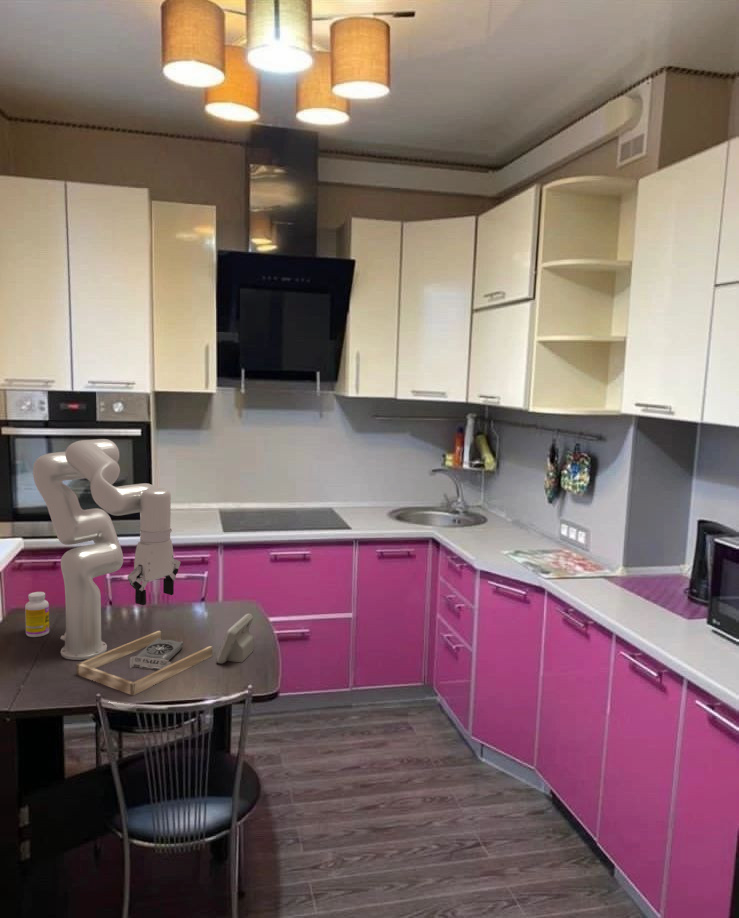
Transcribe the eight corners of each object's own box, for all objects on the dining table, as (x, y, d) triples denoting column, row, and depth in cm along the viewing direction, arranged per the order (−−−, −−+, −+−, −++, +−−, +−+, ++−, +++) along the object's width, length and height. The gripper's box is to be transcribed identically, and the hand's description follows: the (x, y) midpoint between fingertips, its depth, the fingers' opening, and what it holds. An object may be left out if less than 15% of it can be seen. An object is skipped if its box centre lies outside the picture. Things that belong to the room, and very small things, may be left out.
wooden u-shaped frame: (76, 674, 184) (76, 664, 184) (158, 639, 210) (158, 630, 210) (133, 695, 174) (132, 684, 173) (212, 656, 199) (212, 646, 199)
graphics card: (169, 662, 188) (128, 657, 189) (169, 675, 188) (128, 670, 190) (193, 639, 204) (155, 635, 206) (192, 651, 205) (155, 647, 206)
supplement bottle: (48, 636, 209) (47, 596, 208) (24, 639, 207) (23, 598, 205) (50, 628, 216) (49, 589, 214) (27, 631, 213) (25, 591, 211)
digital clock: (239, 643, 210) (239, 610, 209) (263, 648, 207) (264, 615, 205) (206, 662, 195) (207, 627, 194) (233, 668, 192) (233, 632, 190)
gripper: (169, 527, 185) (168, 587, 188) (118, 540, 170) (118, 605, 173) (189, 531, 182) (188, 593, 184) (139, 545, 167) (139, 611, 169)
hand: (154, 598), depth 178 cm, fingers open, 9 cm apart
